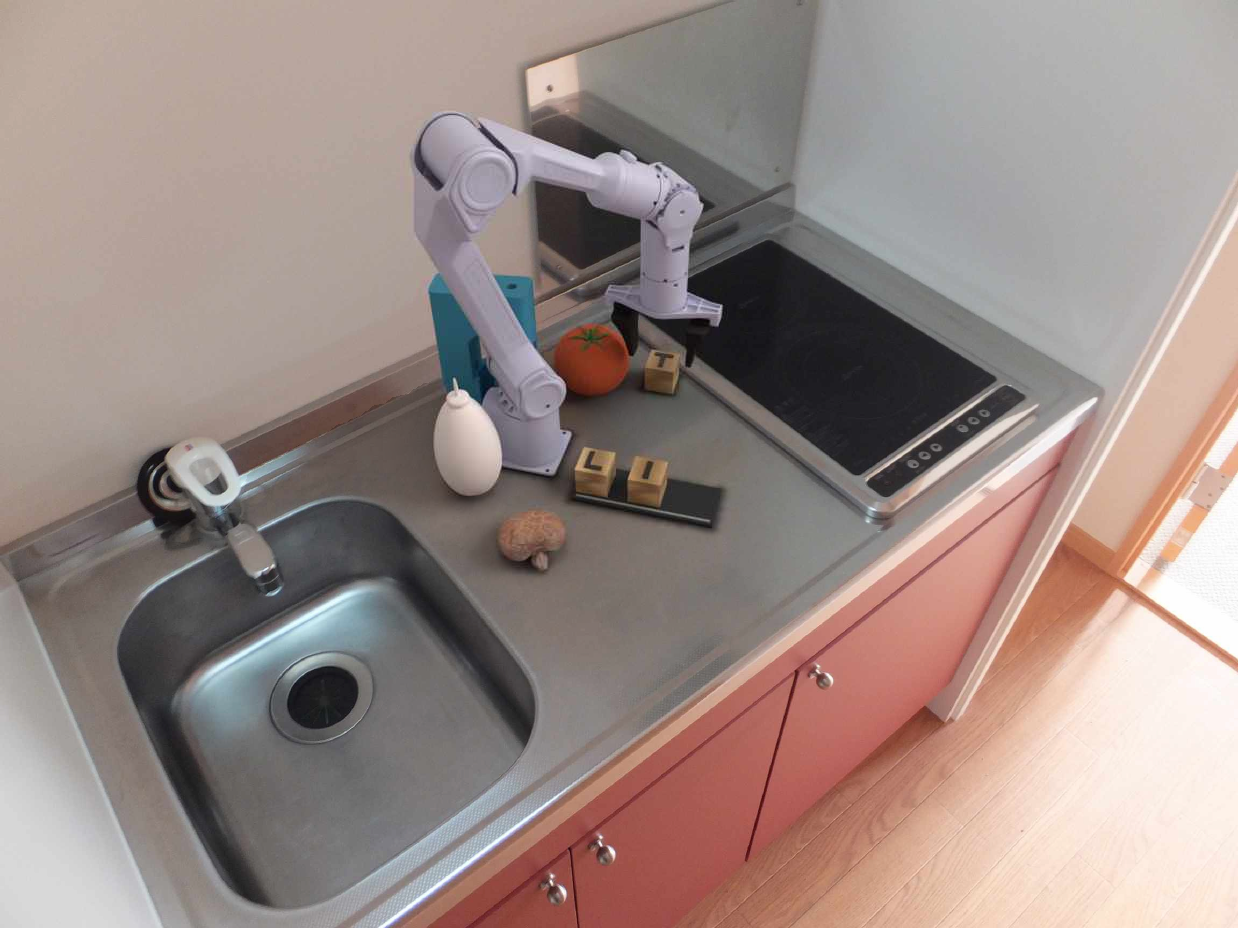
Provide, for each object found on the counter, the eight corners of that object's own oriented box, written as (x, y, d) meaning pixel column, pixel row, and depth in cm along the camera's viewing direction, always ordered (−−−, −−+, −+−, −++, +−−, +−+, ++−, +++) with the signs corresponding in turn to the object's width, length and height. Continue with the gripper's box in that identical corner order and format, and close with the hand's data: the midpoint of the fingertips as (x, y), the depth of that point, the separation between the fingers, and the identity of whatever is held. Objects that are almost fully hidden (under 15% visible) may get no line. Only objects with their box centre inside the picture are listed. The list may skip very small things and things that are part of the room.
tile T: (644, 389, 121) (644, 366, 118) (651, 371, 124) (651, 348, 121) (672, 394, 120) (673, 371, 117) (678, 376, 123) (680, 352, 120)
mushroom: (581, 565, 100) (567, 503, 104) (555, 551, 95) (542, 487, 99) (524, 587, 102) (513, 526, 106) (497, 575, 97) (486, 511, 101)
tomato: (543, 398, 120) (537, 341, 113) (576, 355, 126) (572, 298, 119) (610, 419, 117) (609, 362, 110) (641, 373, 123) (641, 316, 116)
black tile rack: (572, 500, 107) (571, 497, 107) (585, 466, 111) (585, 462, 111) (711, 528, 104) (712, 524, 103) (721, 491, 108) (721, 488, 107)
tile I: (627, 501, 106) (627, 478, 103) (635, 478, 109) (635, 454, 106) (659, 507, 105) (660, 484, 102) (666, 484, 108) (667, 460, 105)
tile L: (575, 491, 107) (574, 468, 104) (585, 468, 110) (583, 445, 107) (607, 498, 106) (606, 474, 103) (615, 474, 109) (615, 451, 106)
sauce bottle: (498, 458, 112) (481, 349, 99) (513, 502, 107) (496, 392, 94) (438, 473, 110) (412, 363, 97) (450, 518, 105) (424, 408, 92)
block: (543, 408, 119) (534, 277, 106) (536, 431, 115) (526, 298, 102) (457, 401, 120) (437, 271, 107) (447, 424, 116) (426, 292, 103)
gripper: (731, 260, 105) (722, 348, 115) (616, 241, 108) (617, 328, 118) (717, 293, 101) (709, 382, 111) (598, 272, 104) (601, 360, 114)
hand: (661, 357), depth 114 cm, fingers open, 7 cm apart
